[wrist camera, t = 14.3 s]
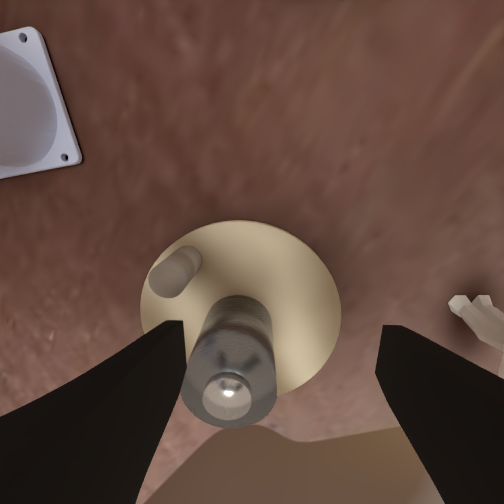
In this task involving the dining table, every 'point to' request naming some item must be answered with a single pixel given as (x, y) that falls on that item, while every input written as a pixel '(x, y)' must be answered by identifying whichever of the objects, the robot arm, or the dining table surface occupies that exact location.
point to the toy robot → (482, 320)
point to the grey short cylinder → (232, 365)
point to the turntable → (249, 291)
